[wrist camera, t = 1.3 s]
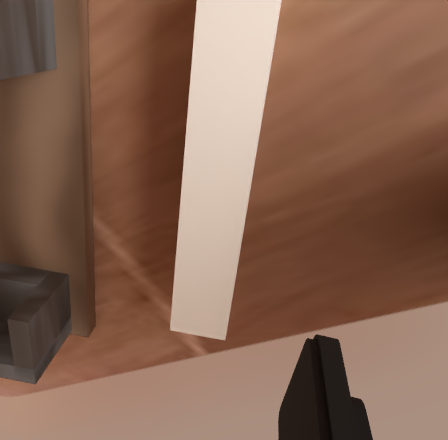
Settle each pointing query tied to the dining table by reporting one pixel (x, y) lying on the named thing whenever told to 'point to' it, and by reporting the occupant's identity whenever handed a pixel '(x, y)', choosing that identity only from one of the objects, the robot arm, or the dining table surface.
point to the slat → (220, 156)
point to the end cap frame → (44, 183)
